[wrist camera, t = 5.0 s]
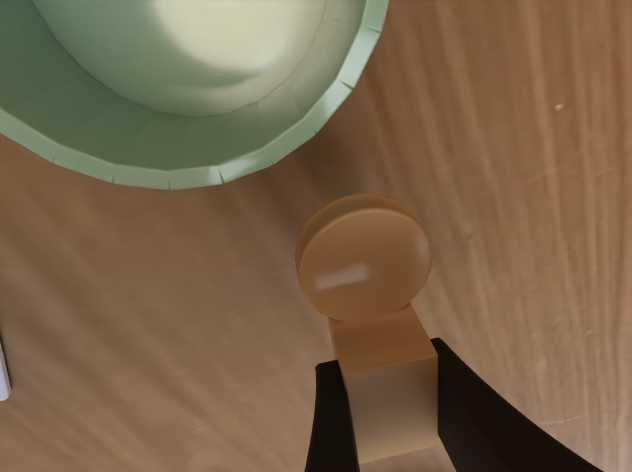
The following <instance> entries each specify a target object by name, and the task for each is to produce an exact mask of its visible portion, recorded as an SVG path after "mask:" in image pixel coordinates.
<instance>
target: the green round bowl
mask: <svg viewBox="0 0 632 472" xmlns="http://www.w3.org/2000/svg"><path fill="white" fill-rule="evenodd" d="M388 5H389V0H0V133H1V134H3V135H5V136H6V137H8V138H10V139H12V140H13V141H15V142H17V143H18V144H20V145H22V146H24V147H25V148H27V149H29V150H30V151H32V152H34V153H36V154H37V155H39V156H41V157H42V158H44V159H46V160H48V161H50V162H53V163H54V164H56V165H59V166H62V167H65V168H68V169H71V170H74V171H77V172H80V173H83V174H85V175H88V176H91V177H94V178H97V179H100V180H103V181H106V182H109V183H112V182H113V183H114V184H119V185H128V186H137V187H145V188H154V189H163V190H169V189H170V190H179V189H187V188H196V187H204V186H213V185H221V184H223V183H228V182H230V181H233V180H236V179H238V178H241V177H243V176H246V175H249V174H251V173H254V172H256V171H259V170H262V169H264V168H267V167H269V166H271V165H272V164H276V163H277V162H278V161H280V160H281V159H282V158H284V157H285V156H287V155H288V154H289V153H291V152H292V151H294V150H295V149H296V148H298V147H299V146H301V145H302V144H303V143H305V142H306V141H308V140H309V139H310V138H312V137H313V136H315V134H316V133H317V132H319V131H320V129H321V128H322V127H323V126H324V125H325V124H326V122H327V121H328V120H329V119H330V118H331V116H332V115H333V114H334V113H335V112H336V110H337V109H338V108H339V107H340V106H341V104H342V103H343V102H344V101H345V100H346V98H347V97H348V96H349V95H350V94H351V92H352V89H354V88H355V86H356V84H357V82H358V80H359V78H360V76H361V74H362V72H363V70H364V68H365V66H366V64H367V62H368V60H369V58H370V56H371V54H372V52H373V50H374V48H375V46H376V44H377V42H378V40H379V38H380V36H381V33H380V32H381V31H382V30H383V26H384V21H385V17H386V13H387V9H388Z"/></svg>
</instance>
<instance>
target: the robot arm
mask: <svg viewBox="0 0 632 472" xmlns="http://www.w3.org/2000/svg"><path fill="white" fill-rule="evenodd" d="M430 341H431V343H432V345H433V347H434V348H435V350H436V352H437V354H438V435H439V437H440V439H441V441H442V443H443V445H444V447H445V449H446V451H447V453H448V455H449V457H450V459H451V461H452V463H453V465H454V467H455V469H456V471H457V472H603V471H602V470H600V469H598V468H597V467H595V466H594V465H592V464H591V463H589V462H588V461H586V460H585V459H583V458H582V457H580V456H579V455H577V454H576V453H574V452H573V451H571V450H570V449H568V448H567V447H565V446H564V445H563V444H561V443H560V442H559V441H557V440H556V439H554V438H553V437H552V436H550V435H549V434H547V433H546V432H545V431H543V430H542V429H541V428H539V427H538V426H537V425H536V424H534V423H533V422H532V421H530V420H529V419H528V418H527V417H525V416H524V415H523V414H522V413H520V412H519V411H518V410H517V409H516V408H514V407H513V406H512V405H511V404H510V403H508V402H507V401H506V400H505V399H504V398H502V397H501V396H500V395H499V394H498V393H497V392H496V391H495V390H493V389H492V388H491V387H490V386H489V385H488V384H487V383H486V382H484V381H483V380H482V379H481V378H480V377H479V376H478V375H477V374H476V373H475V372H474V371H473V370H472V369H471V368H470V367H468V366H467V365H466V364H465V363H464V362H463V361H462V360H461V359H460V358H459V357H458V356H457V355H456V354H455V353H454V352H453V351H452V350H451V349H450V348H449V346H448V345H447V344H446V343H445V342H444V341H443V340H442V339H440V338H439V337H438V338H434V339H430ZM315 370H316V400H315V412H314V419H313V427H312V435H311V441H310V446H309V451H308V456H307V462H306V467H305V472H360V469H359V462H358V455H357V449H356V443H355V438H354V432H353V426H352V421H351V415H350V409H349V404H348V398H347V392H346V390H345V386H344V382H343V379H342V375H341V371H340V367H339V364H338V360H334V361H329V362H324V363H320V364H318V365H317V366H316V367H315ZM10 393H11V387H10V382H9V378H8V373H7V369H6V364H5V360H4V355H3V351H2V346H1V342H0V401H3V400H5V399H7V398H8V396H9V395H10Z"/></svg>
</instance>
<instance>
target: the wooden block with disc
mask: <svg viewBox="0 0 632 472" xmlns="http://www.w3.org/2000/svg"><path fill="white" fill-rule="evenodd" d="M295 261H296V268H297V273H298V279H299V284H300V287H301V290H302V292H303V294H304V296H305V298H306V299H307V301H308V302H309V303H310V304H311V305H312V306H313V307H314V308H315V309H316V310H318V311H319V312H320V313H322V314H324V315H325V316H327V317H328V322H329V328H330V333H331V338H332V344H333V349H334V355H335V360H338V364H339V367H340V371H341V375H342V379H343V382H344V386H345V390H346V392H347V398H348V404H349V409H350V415H351V421H352V426H353V432H354V438H355V443H356V449H357V455H358V462H359V464H362V463H366V462H371V461H375V460H379V459H384V458H388V457H392V456H397V455H401V454H405V453H410V452H414V451H418V450H422V449H427V448H431V447H435V446H438V354H437V352H436V350H435V348H434V347H433V345H432V343H431V341H430V339H429V337H428V335H427V333H426V331H425V330H424V328H423V326H422V324H421V322H420V320H419V318H418V316H417V315H416V313H415V311H414V309H413V307H412V305H411V303H410V301H411V300H413V299H414V298H415V297H416V295H417V294H418V293H419V292H420V291H421V289H422V288H423V286H424V285H425V283H426V281H427V279H428V276H429V273H430V270H431V266H432V247H431V243H430V240H429V237H428V235H427V233H426V232H425V230H424V229H423V227H422V226H421V225H420V223H419V222H418V221H417V219H416V218H415V217H414V215H413V214H412V213H411V212H410V211H409V210H408V209H407V208H406V207H405V206H404V205H403V204H401V203H400V202H398V201H396V200H394V199H392V198H389V197H387V196H383V195H378V194H355V195H350V196H346V197H343V198H340V199H338V200H335V201H333V202H331V203H329V204H328V205H326V206H325V207H323V208H322V209H320V210H319V211H318V212H317V213H316V214H315V215H313V217H312V218H311V219H310V220H309V221H308V222H307V224H306V225H305V227H304V228H303V230H302V232H301V234H300V236H299V239H298V242H297V245H296V251H295Z"/></svg>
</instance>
